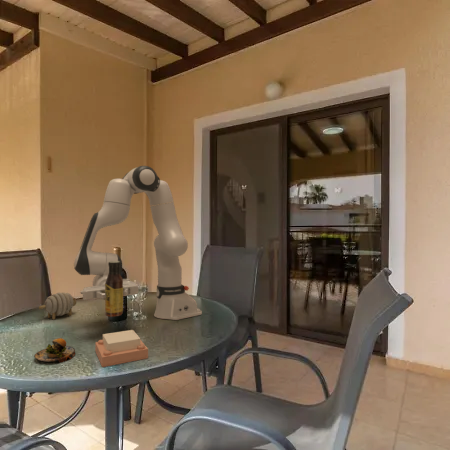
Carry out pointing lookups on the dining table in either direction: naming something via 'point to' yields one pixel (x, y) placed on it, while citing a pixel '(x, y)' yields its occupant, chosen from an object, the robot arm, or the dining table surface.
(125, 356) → the brick stack
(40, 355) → the burger
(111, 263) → the sauce bottle
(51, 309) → the toy sheep
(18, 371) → the dining table surface
